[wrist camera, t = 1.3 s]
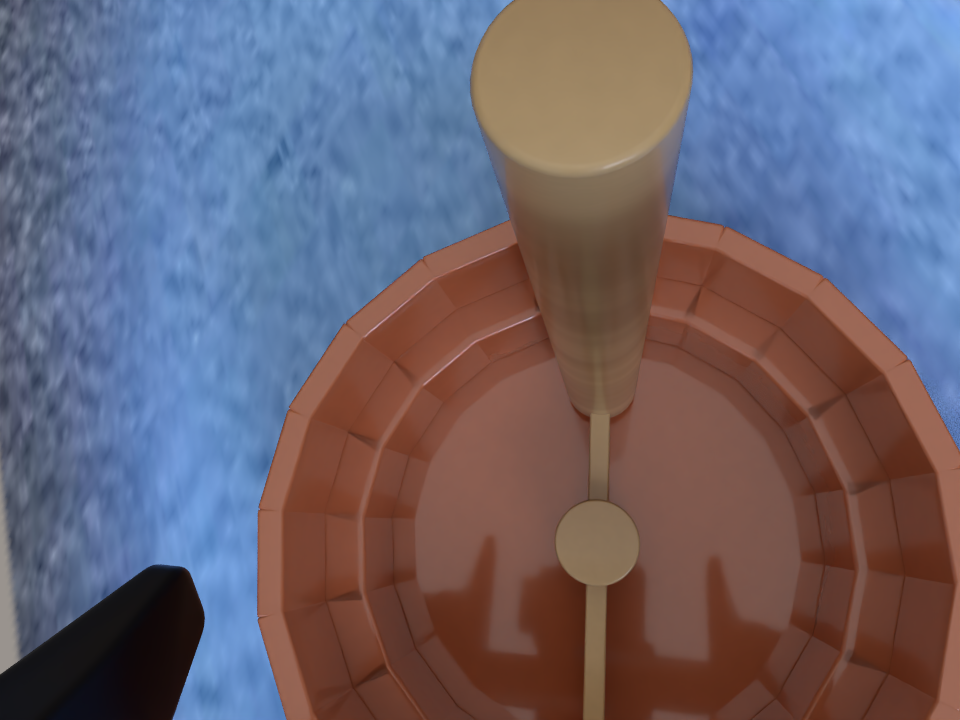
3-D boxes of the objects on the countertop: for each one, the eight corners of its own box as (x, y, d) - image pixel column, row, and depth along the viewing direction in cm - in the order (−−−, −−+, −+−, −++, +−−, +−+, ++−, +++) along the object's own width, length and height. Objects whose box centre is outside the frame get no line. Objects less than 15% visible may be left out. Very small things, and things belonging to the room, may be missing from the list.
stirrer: (635, 736, 19) (715, 1432, 5) (553, 728, 20) (378, 1352, 5) (639, 354, 21) (706, -39, 6) (564, 353, 21) (462, -23, 7)
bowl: (699, 955, 19) (737, 1141, 13) (253, 614, 23) (130, 645, 17) (981, 457, 20) (1128, 431, 15) (518, 205, 24) (488, 102, 18)
